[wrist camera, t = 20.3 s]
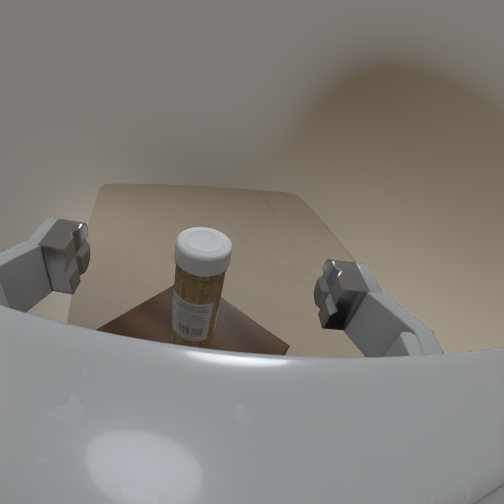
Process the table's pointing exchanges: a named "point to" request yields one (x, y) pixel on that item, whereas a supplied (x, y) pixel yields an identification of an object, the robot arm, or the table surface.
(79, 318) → the table surface
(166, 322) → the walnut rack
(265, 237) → the table surface
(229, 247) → the sprinkles bottle
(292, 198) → the table surface
